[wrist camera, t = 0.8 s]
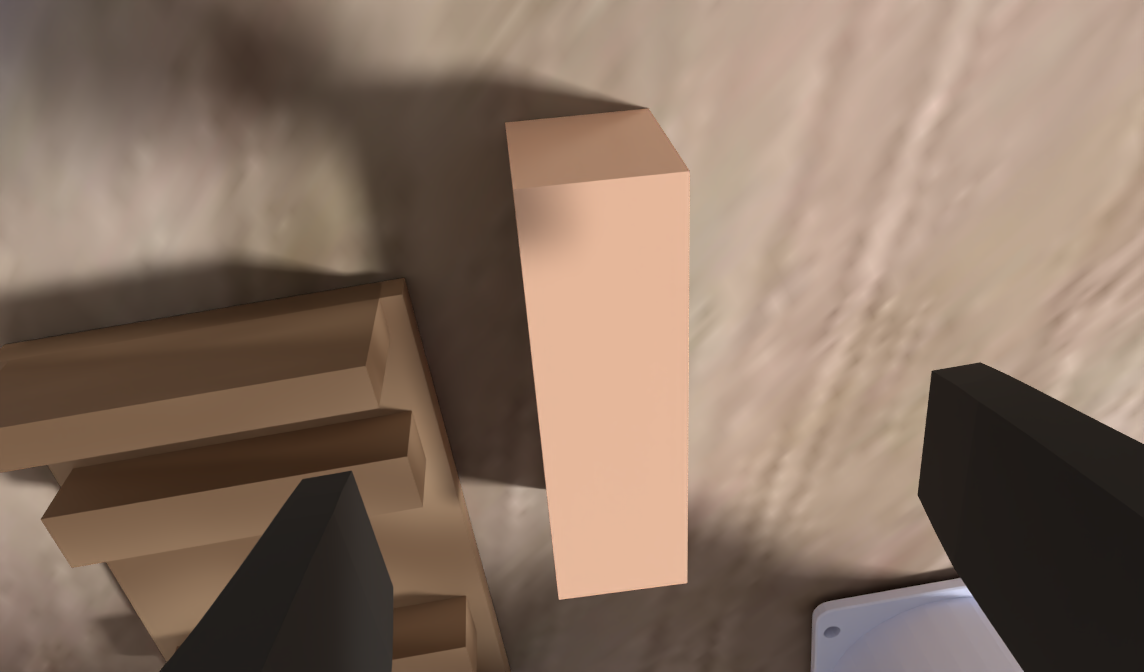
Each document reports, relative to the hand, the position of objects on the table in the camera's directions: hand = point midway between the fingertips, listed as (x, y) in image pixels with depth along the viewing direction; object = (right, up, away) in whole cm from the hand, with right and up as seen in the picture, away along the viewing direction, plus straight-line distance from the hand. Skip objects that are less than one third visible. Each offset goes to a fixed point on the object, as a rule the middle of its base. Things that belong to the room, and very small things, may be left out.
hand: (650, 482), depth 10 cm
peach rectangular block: (-1, +2, +10) cm, 10 cm away
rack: (-8, -4, +12) cm, 15 cm away
